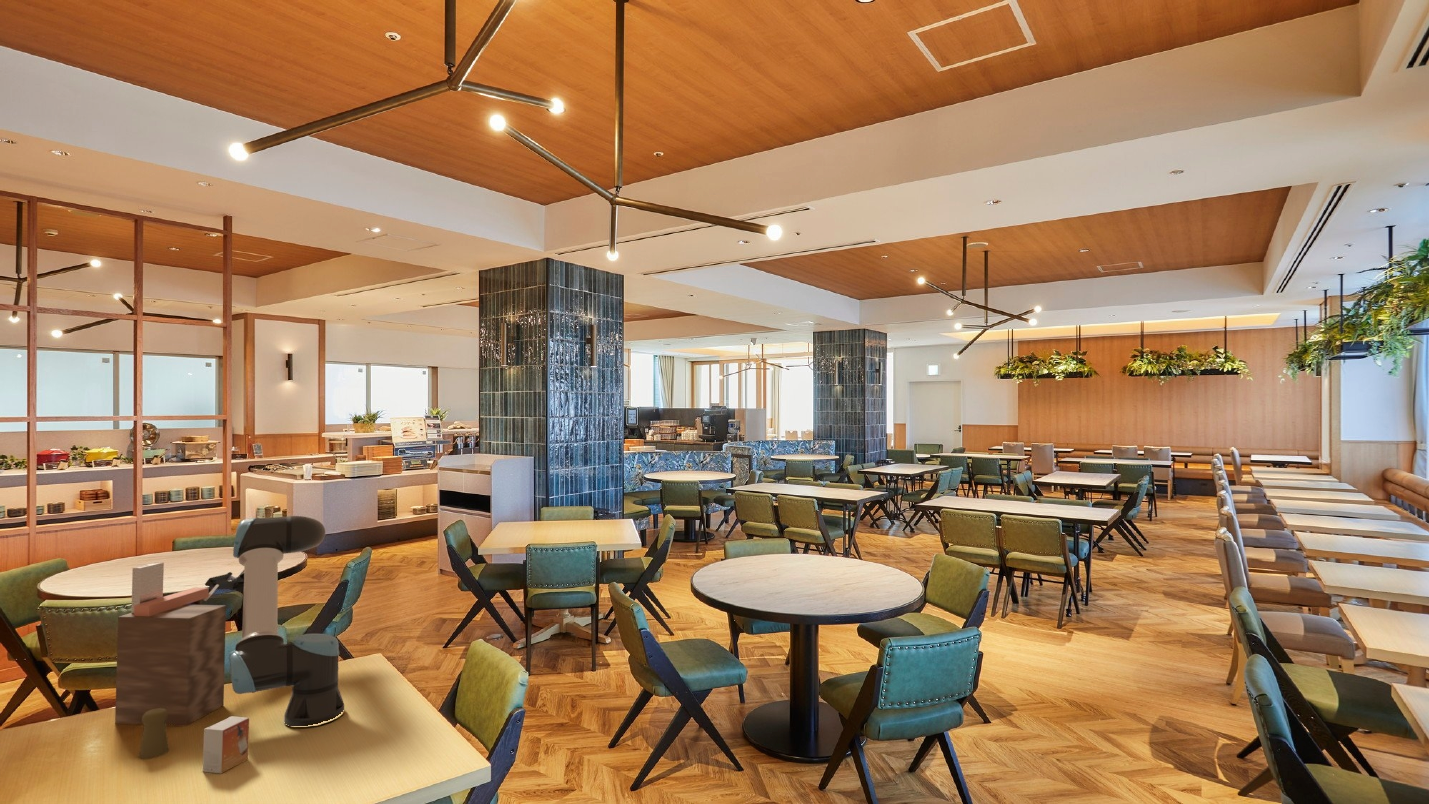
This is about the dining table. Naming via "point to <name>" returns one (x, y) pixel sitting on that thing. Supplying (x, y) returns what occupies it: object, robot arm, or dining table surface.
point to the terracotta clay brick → (170, 601)
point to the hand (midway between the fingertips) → (228, 607)
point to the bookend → (147, 583)
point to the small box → (225, 744)
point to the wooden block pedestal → (171, 664)
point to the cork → (154, 734)
